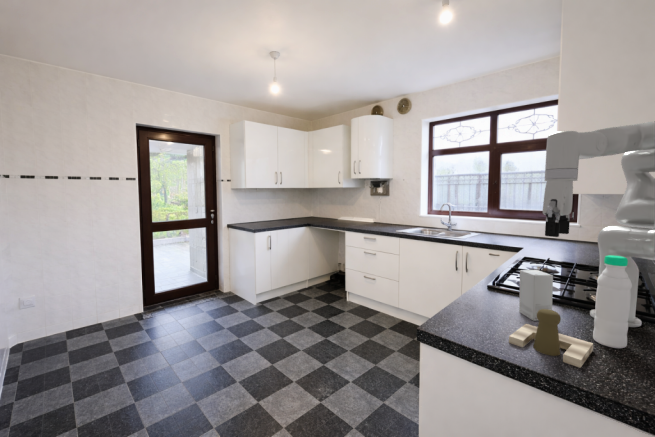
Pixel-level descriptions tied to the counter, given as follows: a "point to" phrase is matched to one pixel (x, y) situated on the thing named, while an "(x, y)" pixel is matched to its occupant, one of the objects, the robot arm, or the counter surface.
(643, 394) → the counter surface
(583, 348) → the wooden u-shaped block
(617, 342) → the water bottle
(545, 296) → the skincare box
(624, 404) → the counter surface
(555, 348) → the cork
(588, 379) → the counter surface
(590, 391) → the counter surface
